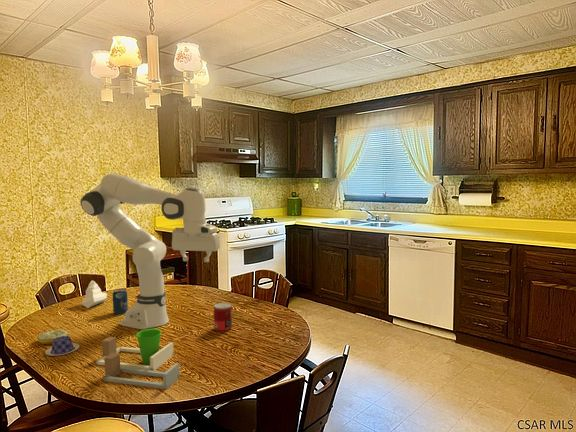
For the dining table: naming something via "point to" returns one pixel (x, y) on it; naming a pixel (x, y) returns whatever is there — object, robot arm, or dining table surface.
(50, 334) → the decorated donut
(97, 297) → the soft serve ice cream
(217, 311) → the canned food
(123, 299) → the soda can
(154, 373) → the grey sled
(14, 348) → the dining table surface
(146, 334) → the cup
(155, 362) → the frame
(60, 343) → the checkered hat
